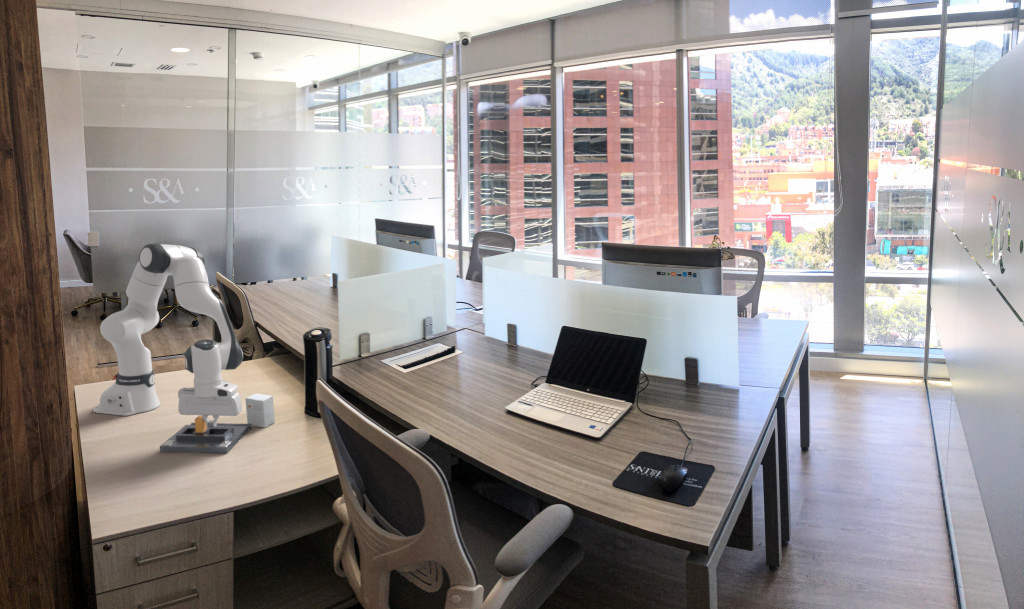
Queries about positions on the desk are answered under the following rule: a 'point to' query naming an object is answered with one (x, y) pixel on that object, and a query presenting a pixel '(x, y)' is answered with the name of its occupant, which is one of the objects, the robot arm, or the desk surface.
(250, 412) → the small box
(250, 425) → the twin grey rods
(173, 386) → the desk surface
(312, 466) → the desk surface
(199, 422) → the lever
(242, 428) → the breaker panel
